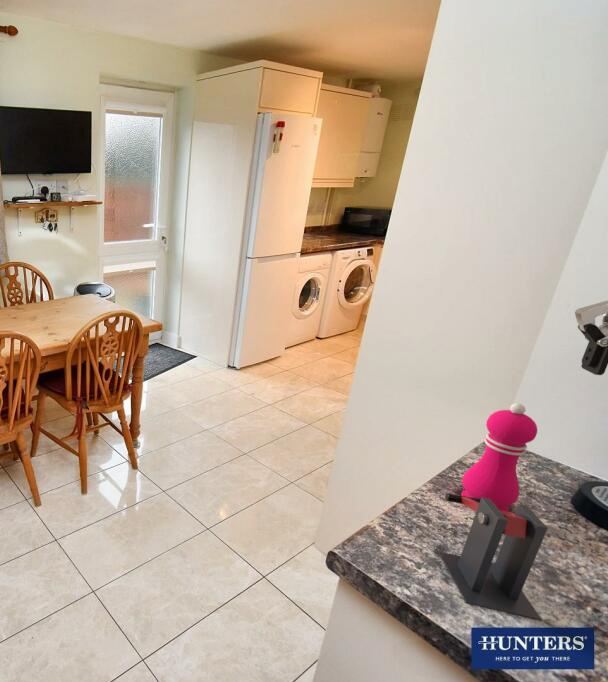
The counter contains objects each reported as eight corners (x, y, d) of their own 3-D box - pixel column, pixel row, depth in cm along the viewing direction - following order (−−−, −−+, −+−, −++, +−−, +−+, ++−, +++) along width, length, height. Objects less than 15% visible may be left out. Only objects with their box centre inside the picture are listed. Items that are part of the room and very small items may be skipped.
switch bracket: (436, 557, 66) (460, 484, 62) (501, 571, 63) (530, 496, 59) (463, 608, 58) (493, 528, 54) (539, 626, 55) (576, 544, 51)
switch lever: (443, 503, 69) (445, 488, 69) (478, 510, 67) (480, 494, 68) (493, 532, 56) (494, 513, 56) (536, 540, 55) (538, 521, 55)
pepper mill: (445, 500, 78) (479, 397, 72) (472, 491, 81) (506, 391, 74) (492, 527, 72) (533, 417, 66) (519, 517, 74) (562, 410, 68)
